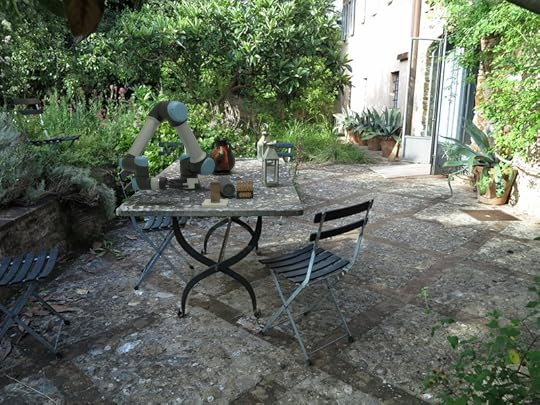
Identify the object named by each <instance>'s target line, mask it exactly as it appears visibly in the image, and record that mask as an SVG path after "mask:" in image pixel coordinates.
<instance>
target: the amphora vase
mask: <svg viewBox="0 0 540 405" xmlns="http://www.w3.org/2000/svg"><path fill="white" fill-rule="evenodd" d="M212 140H213V142H212V144H211V151H210V153H209V154H208V158H211V159H213V160H214V163H215V167H214V170H213V172H212V173H211V175H214V176H229V175H232V174H233V171H232V170H233V169H234V168H235V166H236V157H235V154H234V152H233V150H232V145H231V142H229V141H230V138H228V137H215V138H213V139H212Z"/></svg>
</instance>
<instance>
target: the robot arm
mask: <svg viewBox="0 0 540 405" xmlns="http://www.w3.org/2000/svg"><path fill="white" fill-rule="evenodd" d="M188 113H189V111H188V108H187V106H186V105H185V104H184V103H183V102H181V101H176V100H173V101H167V100H162V101H159V102H157V103H156V104H154V106H153V107H152V108H151V109H150V111H149V112H148V113H147V115H146V120H145V122H144V124H143V126H142V127H141V129H140V131H139V133H138V134H137V136H136V137H135V140H134V142H133V143H132V145H131V147H130V148H129V150H128V152H127V153H126V155H125V156H124V157H121V158H120V159H119V161H118V167H119V168H120V169H121V170H124V171H128V172H133V173H135V176H134V177H133V178H132V180H131V184H132V185H131V186H132V189H133V190H134V191H136V190H137V191H154V192H157V191H166V190H167V189H173V190H174V189H175V190H181V191H185V190H187V191H189V190H191V191H192V190H193V191H194V190H198V189H201V186H202V185H201V182H200V179H199V175H200V176H210V175H212V172H213V170H214V167H215V163H214V160H213V159H211V158H209V155H208V154H207V152H205V151H203V149H202V148H201V146H200V144H199V142H198V140H197V138H196V136H195V135H194V133H193V131H192V129H191V127H190V124H189V123H188V120H189V119H188V116H189V114H188ZM163 122H168V124H169V126H170V127H171V128H174V130H175V132H176V134H177V136H178V137H179V139H180V141H181V143H182V145H183V146H184V148H185V150H186V152H187V154H181V155H180V156H179V175H180V176H179V178H173V179H172V178H170V179H169V180H168V178H167V177H166V176H160V177H159V176H150V169H149V158H148V157H147V156H143V153H144V152H145V150H146V148H147V147H148V144H150V141H151V139H152V137H153V136H154V134H155V132H156V130H157V129H158V127H159V126H161V125H162V123H163Z"/></svg>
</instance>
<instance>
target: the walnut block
mask: <svg viewBox="0 0 540 405" xmlns="http://www.w3.org/2000/svg"><path fill="white" fill-rule="evenodd" d="M209 185H210V186H209V187H210V193H209V194H210V199H211V203H220V199H221V191H220V181H217V180H215V181H214V180H212V181H210V184H209Z"/></svg>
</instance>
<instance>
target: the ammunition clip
mask: <svg viewBox="0 0 540 405" xmlns="http://www.w3.org/2000/svg"><path fill="white" fill-rule="evenodd" d="M235 195H236V196H235V198H236V200H248V199H249V200H254V199H255V198H254V197H255V196H254V181H253V179H251V180H250V179H248V181H247V179H237V180H236V186H235Z"/></svg>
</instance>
